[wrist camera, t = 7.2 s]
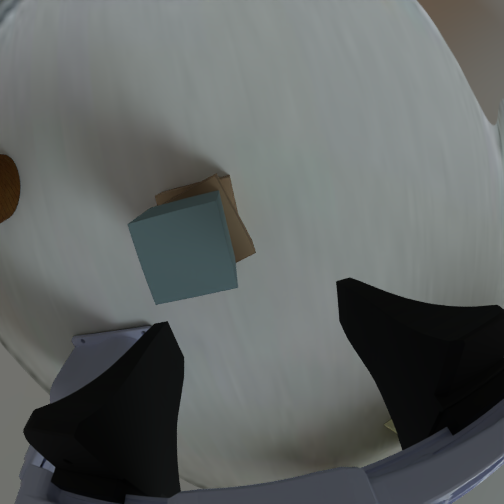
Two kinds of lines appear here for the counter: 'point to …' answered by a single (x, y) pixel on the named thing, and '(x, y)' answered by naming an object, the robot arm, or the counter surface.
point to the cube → (185, 248)
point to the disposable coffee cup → (8, 187)
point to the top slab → (235, 225)
